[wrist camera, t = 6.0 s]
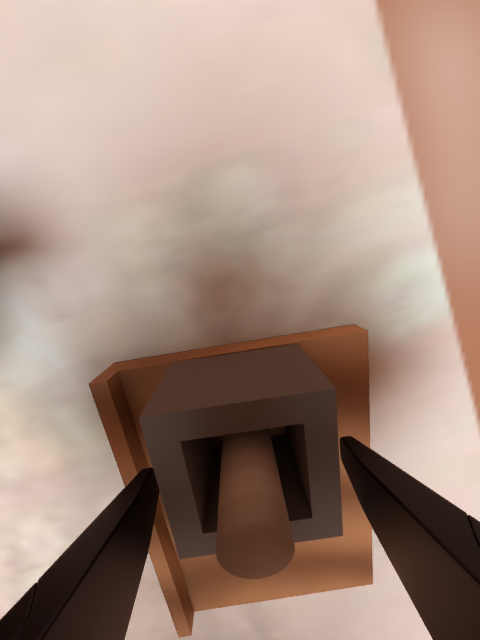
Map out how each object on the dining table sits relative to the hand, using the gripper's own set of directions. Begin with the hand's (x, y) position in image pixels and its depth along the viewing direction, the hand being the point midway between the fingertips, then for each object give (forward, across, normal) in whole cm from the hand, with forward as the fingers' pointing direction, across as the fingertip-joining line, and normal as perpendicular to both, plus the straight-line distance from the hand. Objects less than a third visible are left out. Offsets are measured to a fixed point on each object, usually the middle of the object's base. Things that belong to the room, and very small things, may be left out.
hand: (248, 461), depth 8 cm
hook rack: (+4, 0, +6) cm, 8 cm away
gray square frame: (+3, 0, 0) cm, 3 cm away
